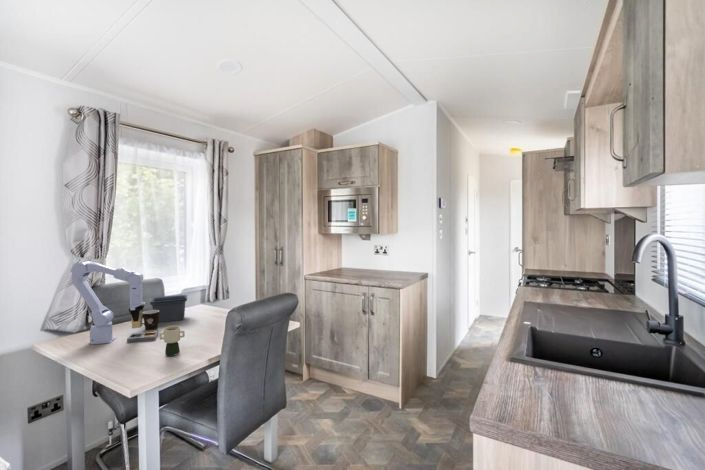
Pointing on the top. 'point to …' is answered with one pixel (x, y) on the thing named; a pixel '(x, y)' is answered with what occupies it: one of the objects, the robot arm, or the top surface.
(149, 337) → the socket
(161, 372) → the top surface
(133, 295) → the robot arm
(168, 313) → the storage bin
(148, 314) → the coffee mug
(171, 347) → the beige trophy cup
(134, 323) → the brass peg
